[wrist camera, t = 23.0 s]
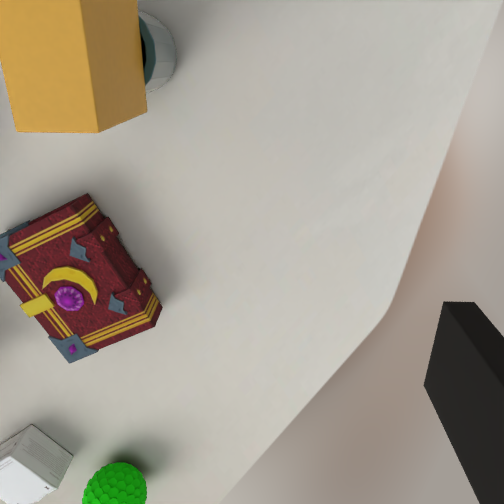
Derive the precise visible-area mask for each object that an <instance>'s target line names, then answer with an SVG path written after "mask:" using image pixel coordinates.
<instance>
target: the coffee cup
mask: <svg viewBox="0 0 504 504" xmlns="http://www.w3.org/2000/svg"><path fill="white" fill-rule="evenodd" d="M138 17H139V28H140V38H141V49H142V59H143V70H144V81H145V91H146V93H148V92H152V91H154V90H156V89H159V88H160V87H162V86H163V85H165V84H166V83H167V82H168V81H169V79H170V78H171V77H172V75H173V73H174V70H175V67H176V61H177V52H176V46H175V43H174V40H173V38H172V36H171V34H170V32H169V31H168V29H167V28H166V27H165V26H164V25H163V24H162V23H161V22H160V21H159V20H158V19H156V18H154V17H152V16H150V15H148V14H146V13H144V12H141V11H139V10H138Z"/></svg>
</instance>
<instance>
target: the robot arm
mask: <svg viewBox="0 0 504 504" xmlns="http://www.w3.org/2000/svg"><path fill="white" fill-rule="evenodd" d="M424 387H425V389H426V391H427V393H428V395H429V397H430V400H431V402H432V404H433V406H434V408H435V410H436V412H437V414H438V416H439V419H440V421H441V423H442V425H443V427H444V429H445V431H446V433H447V435H448V438H449V440H450V442H451V444H452V446H453V448H454V450H455V452H456V454H457V457H458V459H459V461H460V463H461V465H462V467H463V469H464V471H465V474H466V476H467V478H468V480H469V482H470V484H471V486H472V488H473V490H474V493H475V495H476V497H477V499H478V501H479V503H480V504H504V337H503V336H502V335H501V333H500V332H499V331H498V330H497V329H496V328H495V326H494V325H493V324H492V323H491V321H490V320H489V319H488V318H487V317H486V316H485V314H484V313H483V312H482V311H481V309H480V308H479V307H478V306H477V305H476V304H475V303H474V302H443V306H442V310H441V315H440V318H439V323H438V328H437V331H436V335H435V340H434V344H433V348H432V352H431V356H430V361H429V365H428V369H427V373H426V378H425V382H424Z"/></svg>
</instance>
